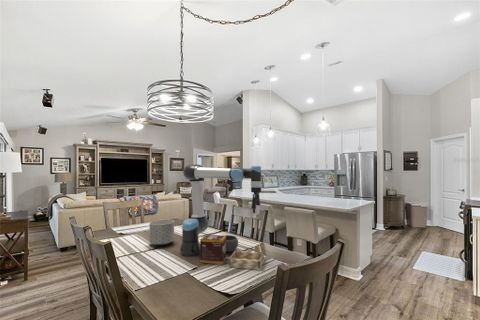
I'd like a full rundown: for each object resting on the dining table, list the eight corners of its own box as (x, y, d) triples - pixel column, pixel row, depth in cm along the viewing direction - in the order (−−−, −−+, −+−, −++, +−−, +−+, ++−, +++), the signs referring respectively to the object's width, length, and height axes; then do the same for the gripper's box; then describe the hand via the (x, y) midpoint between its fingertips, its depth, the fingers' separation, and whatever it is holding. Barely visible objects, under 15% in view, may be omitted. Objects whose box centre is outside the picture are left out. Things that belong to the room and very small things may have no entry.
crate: (228, 266, 153) (228, 258, 153) (235, 258, 167) (235, 250, 167) (259, 270, 148) (259, 261, 148) (263, 260, 162) (263, 253, 162)
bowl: (241, 249, 185) (241, 235, 186) (232, 255, 172) (232, 241, 172) (224, 246, 192) (224, 233, 192) (214, 252, 178) (214, 238, 178)
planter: (144, 246, 192) (144, 223, 193) (160, 239, 210) (160, 218, 210) (163, 249, 185) (163, 225, 186) (178, 242, 203) (178, 220, 203)
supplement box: (222, 264, 157) (222, 240, 157) (199, 262, 160) (199, 238, 160) (226, 258, 167) (226, 235, 167) (205, 256, 170) (205, 234, 170)
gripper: (258, 188, 166) (258, 219, 165) (263, 185, 190) (263, 212, 190) (247, 188, 168) (247, 219, 167) (254, 185, 192) (254, 212, 191)
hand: (256, 215), depth 178 cm, fingers open, 13 cm apart
